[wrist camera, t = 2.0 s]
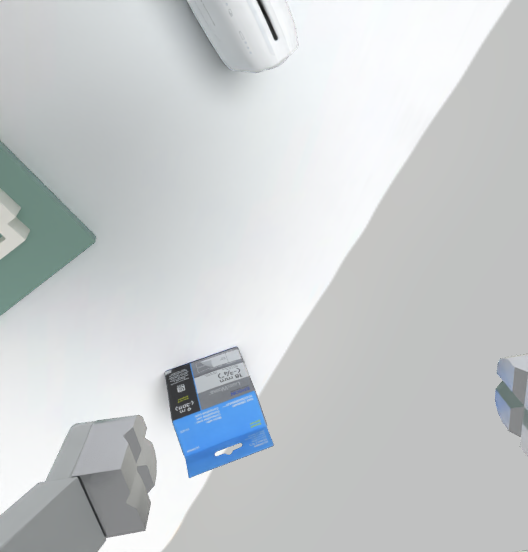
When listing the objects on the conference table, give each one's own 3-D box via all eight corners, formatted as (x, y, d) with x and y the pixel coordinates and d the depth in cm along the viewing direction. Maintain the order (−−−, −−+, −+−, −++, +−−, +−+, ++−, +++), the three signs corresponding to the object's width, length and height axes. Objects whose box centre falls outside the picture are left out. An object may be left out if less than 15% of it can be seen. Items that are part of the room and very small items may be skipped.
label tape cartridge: (237, 344, 54) (268, 416, 43) (245, 369, 55) (276, 445, 45) (163, 370, 52) (175, 452, 42) (174, 395, 54) (188, 479, 43)
